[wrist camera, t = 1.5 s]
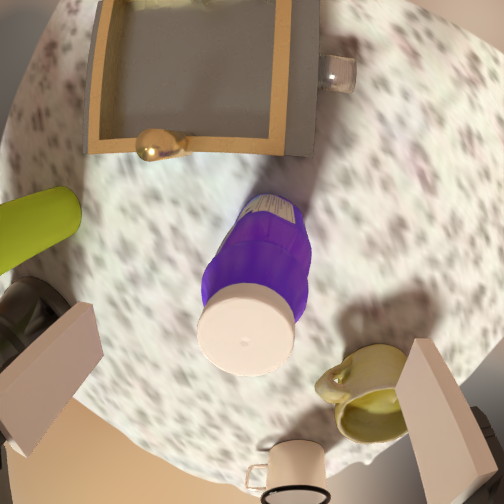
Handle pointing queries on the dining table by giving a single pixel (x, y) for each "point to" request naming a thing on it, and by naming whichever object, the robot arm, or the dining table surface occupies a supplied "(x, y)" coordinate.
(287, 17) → the grey and tan box
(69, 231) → the soap dispenser
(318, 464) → the mug
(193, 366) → the dining table surface
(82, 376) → the robot arm
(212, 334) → the bottle
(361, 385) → the mug
